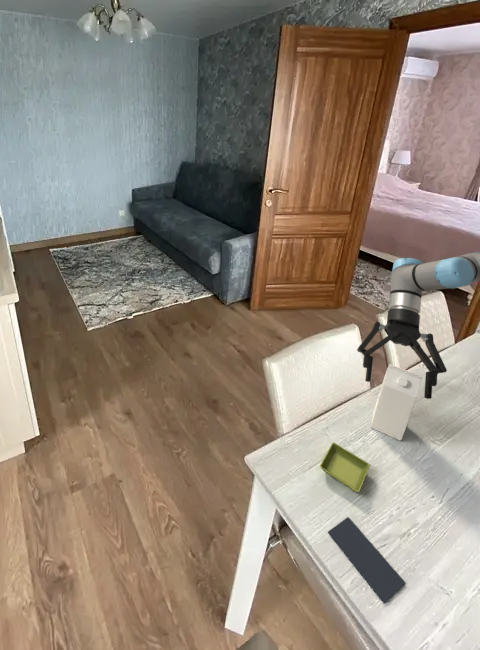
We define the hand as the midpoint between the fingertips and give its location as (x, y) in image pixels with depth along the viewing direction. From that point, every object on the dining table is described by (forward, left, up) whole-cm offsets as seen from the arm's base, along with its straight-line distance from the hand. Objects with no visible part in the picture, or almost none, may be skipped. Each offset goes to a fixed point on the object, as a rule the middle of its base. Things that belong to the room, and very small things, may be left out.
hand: (396, 389), depth 90 cm
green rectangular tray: (+9, +21, -12) cm, 26 cm away
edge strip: (+4, +37, -12) cm, 39 cm away
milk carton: (0, +1, -12) cm, 12 cm away
